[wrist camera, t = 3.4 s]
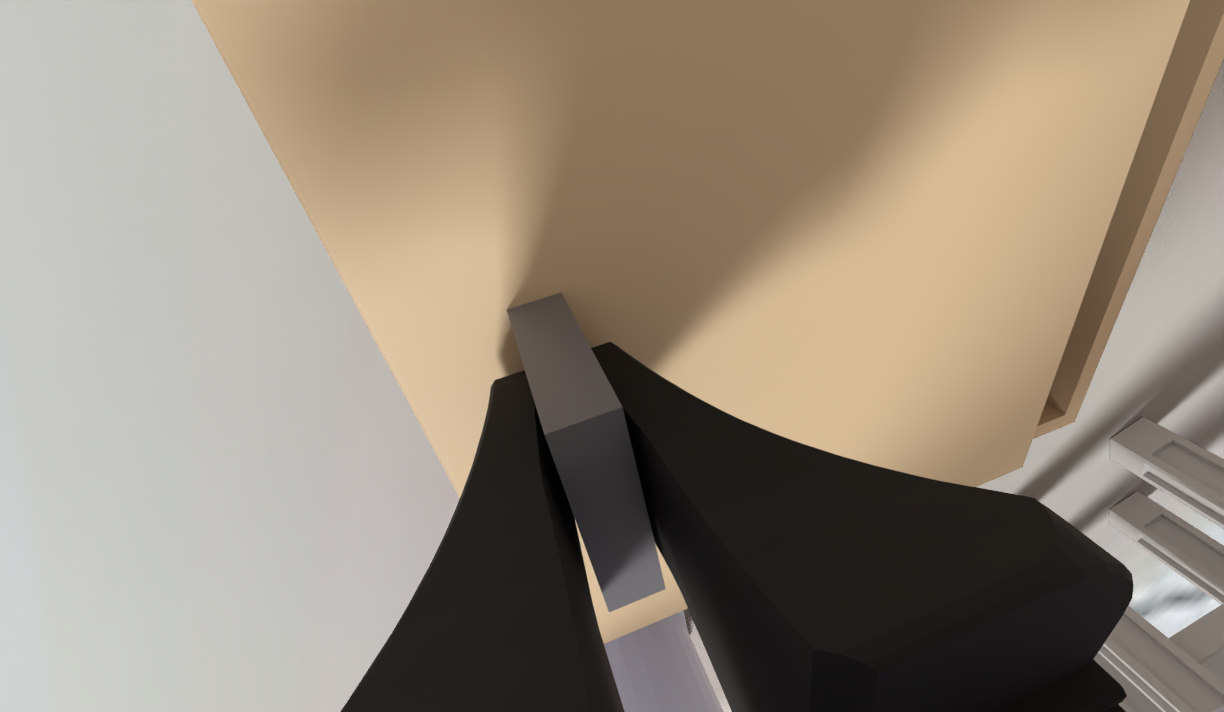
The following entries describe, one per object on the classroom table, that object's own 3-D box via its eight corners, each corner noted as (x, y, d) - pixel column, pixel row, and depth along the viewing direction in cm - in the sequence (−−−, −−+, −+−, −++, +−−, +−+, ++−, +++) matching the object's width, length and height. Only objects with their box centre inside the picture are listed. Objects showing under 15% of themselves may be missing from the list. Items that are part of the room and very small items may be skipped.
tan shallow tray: (955, 351, 22) (1074, 421, 18) (601, 484, 20) (646, 599, 16) (1091, -277, 12) (1425, -433, 8) (409, -150, 10) (400, -277, 6)
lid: (1006, 455, 18) (1139, 551, 15) (546, 646, 16) (580, 813, 12) (1297, -436, 8) (1983, -802, 4) (71, -260, 5) (-533, -765, 2)
